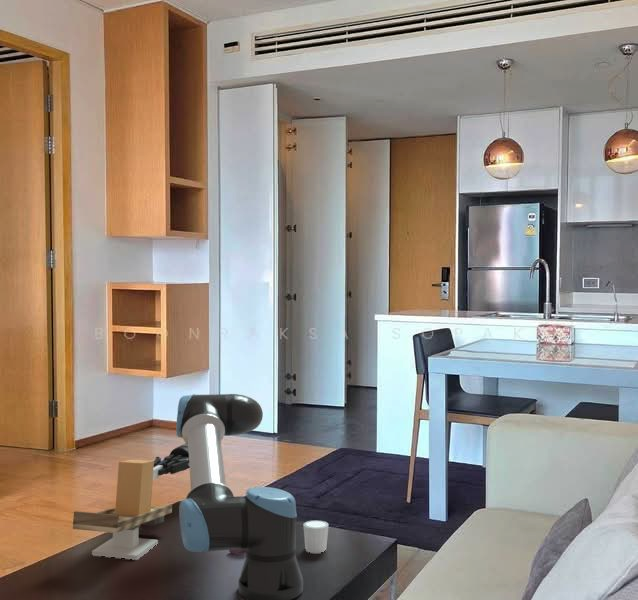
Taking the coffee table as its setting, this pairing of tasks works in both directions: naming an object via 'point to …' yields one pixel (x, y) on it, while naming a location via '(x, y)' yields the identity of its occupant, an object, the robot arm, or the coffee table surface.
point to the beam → (117, 519)
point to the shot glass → (315, 536)
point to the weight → (134, 487)
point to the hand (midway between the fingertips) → (150, 475)
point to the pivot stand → (125, 545)
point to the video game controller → (236, 550)
